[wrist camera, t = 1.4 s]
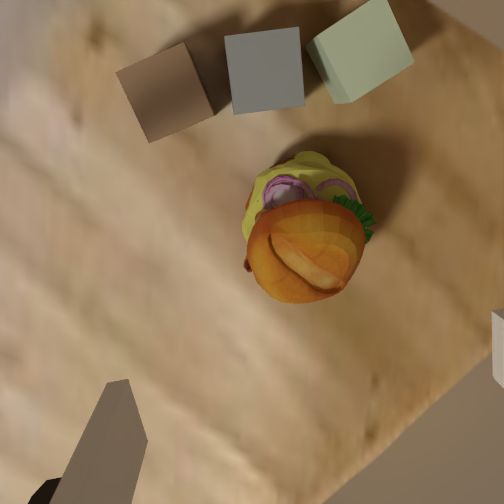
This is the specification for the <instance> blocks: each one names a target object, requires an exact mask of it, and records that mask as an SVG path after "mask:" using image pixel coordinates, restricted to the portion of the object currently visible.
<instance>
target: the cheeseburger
mask: <svg viewBox="0 0 504 504" xmlns="http://www.w3.org/2000/svg"><path fill="white" fill-rule="evenodd" d="M374 223H376V222H374V219H373V215H372V213H370V212H368V211H366V210H365V207H364V204H362V202H361V200H360V197H359V196H358V192H357V189H356V186H355V184H354V181H353V180H352V179H351V178H350V177H349V176H348V174H347V173H345V172H344V171H342V170H341V169H339V168H338V167H336V166H334V165H332V164H330V161H329V160H328V159H327V158H326V157H325V156H324V155H322V154H319V153H317V152H314V151H301V152H299V153H298V154H296V155H295V156H294V158H289V159H287V160H285V161H283V162H281V163H279V164H277V165H275V166H272V167H270V168H269V169H268V170H266V171H263V172H262V173H261V174H260V175H258V177H257V178H256V179H255V185H254V187H253V189H252V192H251V194H250V197H249V199H248V202H247V204H246V215H245V217H244V219H243V221H242V233H243V235H244V237H245V238H246V241H247V255H246V257H245V260H244V263H243V266H244V268H245V269H246V271H247V272H252V271H253V273H254V276H255V278H256V281H257V283H258V284H259V285H260V286H261V287H262V288H263V289H264V290H265V291H266V292H267V293H268V294H269V295H270V296H271V297H272V298H275V299H277V300H279V301H281V302H285V303H292V304H301V303H309V302H315V301H318V300H322V299H325V298H328V297H331V296H333V295H335V294H337V293H339V292H340V291H341V290H343V289H344V287H345V286H346V285H347V283H348V281H349V280H350V278H351V277H352V275H353V274H354V272H355V270H356V268H357V266H358V265H359V263H360V260H361V257H362V255H363V251H364V247H365V244H366V243H367V242H369V240H370V238H371V236H372V234H373V232H372V231H370V230H368V229H367V227H368V226H370V225H372V224H374Z"/></svg>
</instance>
